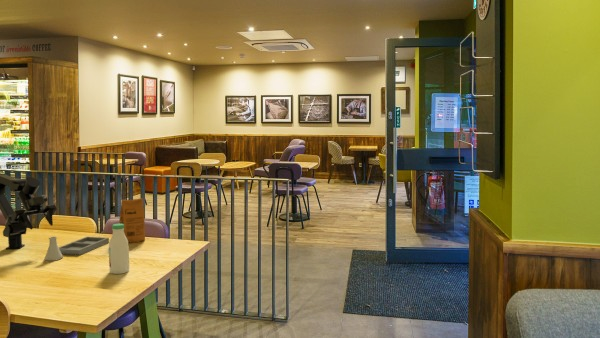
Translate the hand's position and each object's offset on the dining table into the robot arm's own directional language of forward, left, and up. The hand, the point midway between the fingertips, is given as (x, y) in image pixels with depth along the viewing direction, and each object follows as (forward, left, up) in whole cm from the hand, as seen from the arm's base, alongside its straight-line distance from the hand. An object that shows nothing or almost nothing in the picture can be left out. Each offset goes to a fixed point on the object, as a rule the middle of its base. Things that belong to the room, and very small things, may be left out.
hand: (42, 227), depth 220 cm
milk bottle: (+29, +39, -14) cm, 51 cm away
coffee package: (-23, +35, -14) cm, 44 cm away
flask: (+6, +6, -14) cm, 16 cm away
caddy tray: (-12, +14, -14) cm, 23 cm away
